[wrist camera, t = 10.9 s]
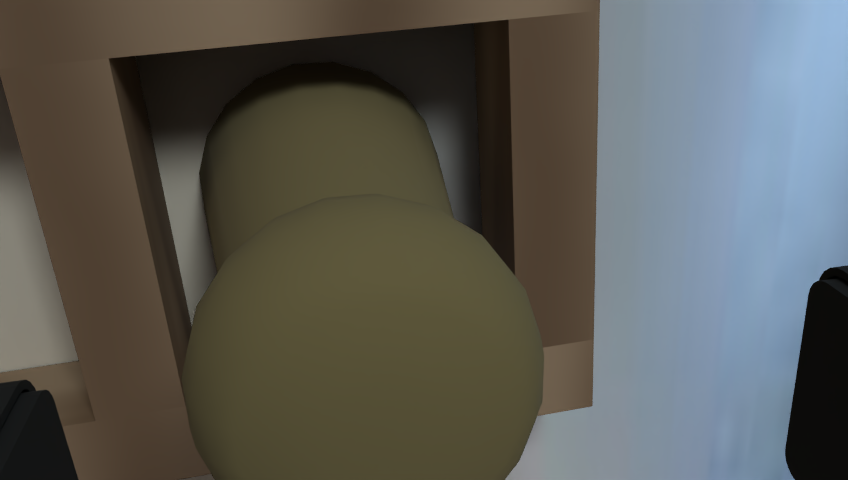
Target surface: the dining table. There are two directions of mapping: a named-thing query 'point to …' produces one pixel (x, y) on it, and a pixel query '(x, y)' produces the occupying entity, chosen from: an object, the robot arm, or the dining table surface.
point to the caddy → (149, 222)
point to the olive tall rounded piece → (350, 298)
